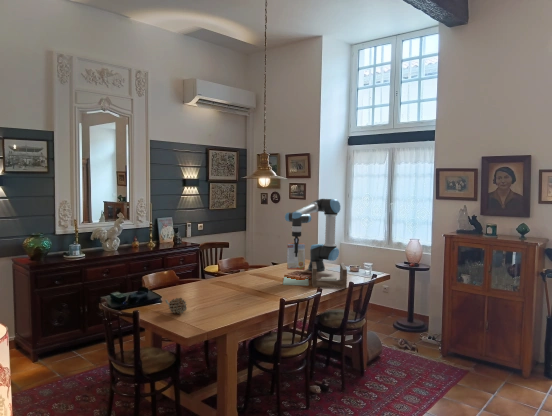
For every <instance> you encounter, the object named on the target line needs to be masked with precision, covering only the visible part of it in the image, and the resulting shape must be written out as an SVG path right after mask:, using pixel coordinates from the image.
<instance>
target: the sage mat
mask: <svg viewBox="0 0 552 416" xmlns="http://www.w3.org/2000/svg"><path fill="white" fill-rule="evenodd" d="M287 277H288V276H284V277H283V281H282V285H283V286H303V287H304V286H307V287H308V286H309V285H310V284H309V278H308V279H305V280H296V279H291V278H287Z"/></svg>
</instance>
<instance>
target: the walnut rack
mask: <svg viewBox="0 0 552 416" xmlns="http://www.w3.org/2000/svg"><path fill="white" fill-rule="evenodd" d="M317 272H318V271H317V267H316V262H312V271H311V285H312V288H313V287H315V288H340V287H342V288H346V289H347V288H348V287H347V285H348V284H347V283H348V279H347V278H348V268H347V266H346V265H345V263H344V262H339V279H337V280H321V279H317V278H318V273H317ZM342 288H341V289H342Z"/></svg>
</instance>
